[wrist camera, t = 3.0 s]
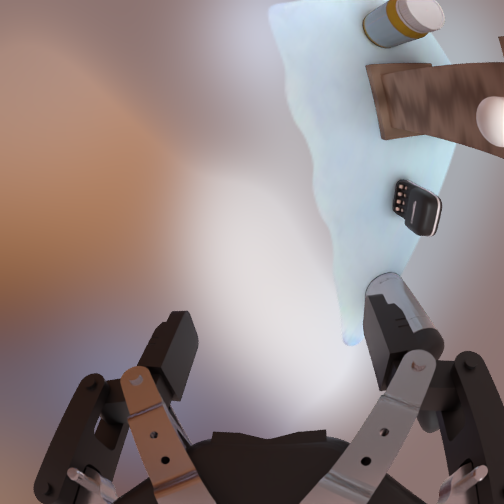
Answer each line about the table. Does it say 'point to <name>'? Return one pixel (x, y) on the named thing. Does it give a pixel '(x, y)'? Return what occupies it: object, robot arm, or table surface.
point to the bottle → (403, 21)
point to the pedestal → (435, 100)
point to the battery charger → (417, 208)
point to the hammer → (491, 120)
